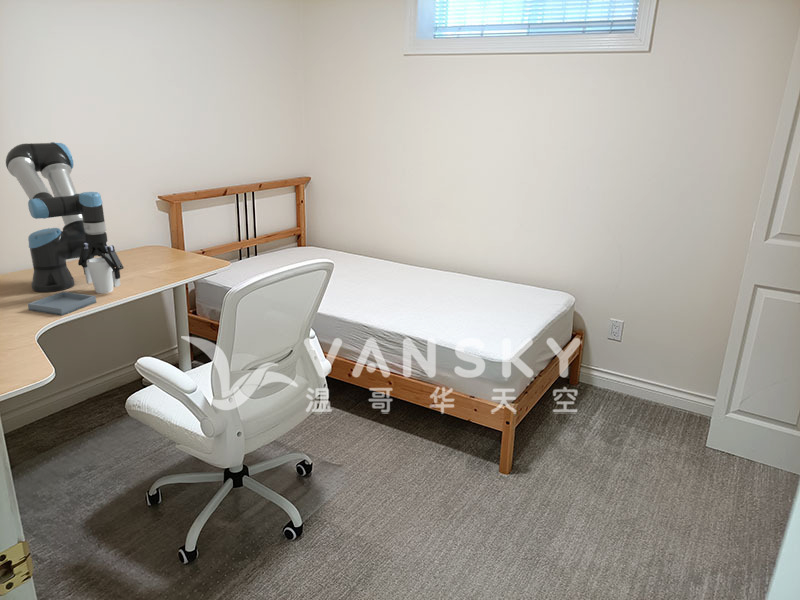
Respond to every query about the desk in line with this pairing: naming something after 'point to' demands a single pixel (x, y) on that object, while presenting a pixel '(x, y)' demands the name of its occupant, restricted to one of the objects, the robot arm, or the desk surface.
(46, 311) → the grey tray
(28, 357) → the desk surface
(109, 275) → the foam cup
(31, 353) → the desk surface
